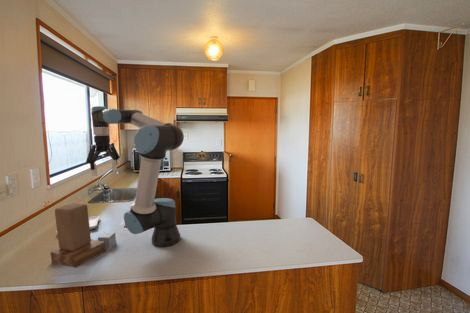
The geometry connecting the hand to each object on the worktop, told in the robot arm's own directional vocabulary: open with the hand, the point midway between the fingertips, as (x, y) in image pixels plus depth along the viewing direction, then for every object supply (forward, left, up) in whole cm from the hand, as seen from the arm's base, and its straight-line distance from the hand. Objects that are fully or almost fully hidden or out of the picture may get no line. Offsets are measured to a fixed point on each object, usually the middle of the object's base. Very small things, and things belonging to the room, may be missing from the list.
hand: (105, 173), depth 142 cm
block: (-2, +23, -32) cm, 39 cm away
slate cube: (-8, +10, -37) cm, 39 cm away
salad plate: (+30, -4, -37) cm, 48 cm away
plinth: (-4, +23, -37) cm, 43 cm away
